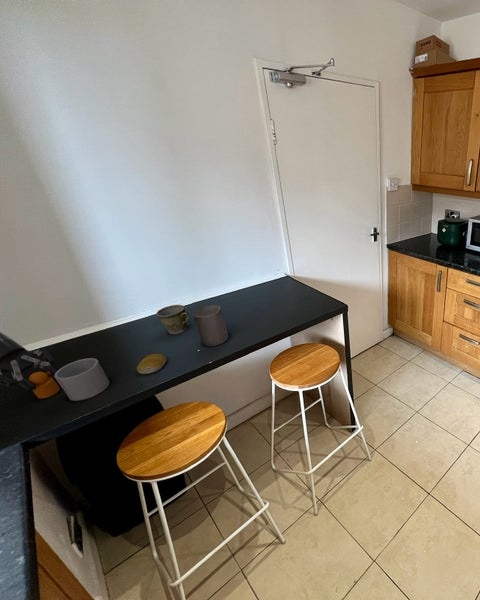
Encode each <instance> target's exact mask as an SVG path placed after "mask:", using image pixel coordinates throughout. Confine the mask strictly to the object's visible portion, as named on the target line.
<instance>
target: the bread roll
mask: <svg viewBox="0 0 480 600" xmlns="http://www.w3.org/2000/svg"><path fill="white" fill-rule="evenodd" d="M167 360H168V359H167V357H166V356H165V355H164V354H163V353H162V354H161V353H152V354H148V355H147V356H145V357H144V358H142V359H141V360H140V362H139V363H138V365H137V366H136V371H137V373H138V374H142V375H147V374H152V373H156V372H158V371H159V370H161V369H162V368H163V367H164V365H165V364H166V363H167Z"/></svg>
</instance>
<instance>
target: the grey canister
mask: <svg viewBox="0 0 480 600" xmlns="http://www.w3.org/2000/svg"><path fill="white" fill-rule="evenodd" d="M192 315H193V318H194V321H195V324H196V327H197V331H198V333H199V337H200V339H201V343H202V344H203V345H204V346H206V347H214V346H219V345H221V344H223V343H225V342H226V341H227V340H228V339H229V335H230V334H229V331H228V328H227V325H226V322H225V319H224V316H223V315H224V314H223V312H222V309H221V306H219V305H215V304H213V305H212V304H211V305H205V306H202V307H199V308H197V309H195V311H193V313H192Z"/></svg>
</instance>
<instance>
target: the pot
mask: <svg viewBox="0 0 480 600" xmlns="http://www.w3.org/2000/svg"><path fill="white" fill-rule="evenodd" d="M57 370H58V371H57V372H56V373H55V377H54V378H55V381H56V382H57V383H58V384H59V387H60V388H61V389H62V391H63V392H64V393H65V395H66V397H67V398H68V399H69V400H70V401H72V402H73V401H74V402H76V401H77V402H79V401H83V400H87V399H90V398H93V397H95V396H98V394H100V393H102V392H103V391H105V390H106V389H107V388H108V387H109V385H110V379H109V378H108V376H107V374H106V373H105V371H104V369H103V367H102V365H101V364H100V362H99V360H98V359H97V358H94V357H89V358H82V359H77V360H75V361H73V362H70V363H67V364H66V365H64V366H62V367H61V368H59V369H57Z"/></svg>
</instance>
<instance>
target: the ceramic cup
mask: <svg viewBox="0 0 480 600" xmlns="http://www.w3.org/2000/svg"><path fill="white" fill-rule="evenodd" d="M186 315H187V317H186ZM156 316H157V318H158V319H159V321H160V322H161V323H162V324H163V326H164V327H165V329H166V331H167V332H168V333H169V334H170V335H178V334H182V333H184V332H185V331H187V330H188V325H187V321H188V320H189V319H190V318H191V315H190V313H189V312H187V311H186V307H185V306H184V305H183V304H171V305H167V306H165V307H162V308H160V309H159V310H157V312H156Z"/></svg>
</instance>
